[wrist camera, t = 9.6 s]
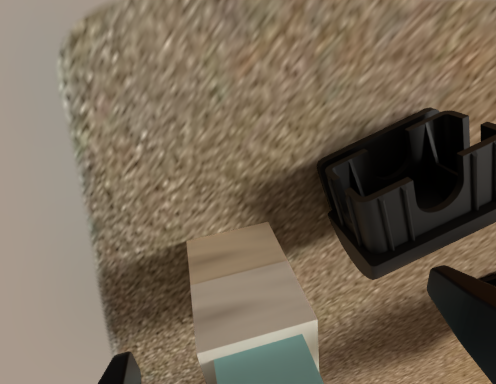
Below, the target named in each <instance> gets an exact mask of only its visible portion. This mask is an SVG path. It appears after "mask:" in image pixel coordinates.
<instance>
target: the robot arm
mask: <svg viewBox="0 0 496 384" xmlns="http://www.w3.org/2000/svg"><path fill="white" fill-rule="evenodd" d="M427 291H428V294H429V296H430V297H431V299H432V300H433V302H434V304H435V305H436V307H437V308H438V310H439V311H440V313H441V314H442V316H443V317H444V319H445V320H446V322H447V324H448V325H449V327H450V328H451V330H452V331H453V333H454V334H455V336H456V337H457V339H458V340H459V341H460V343H461V344H462V345H463V347H464V348H465V349H466V351H467V352H468V353H469V354H470V356H471V357H472V358H473V359H474V361H475V362H476V363H477V365H478V366H479V367H480V368H481V370H482V371H483V372H484V373H485V375H486V376H487V377H488V378H489V380H490V381H491V382H492V384H496V275H494V276H490V277H487V278H483V279H481V280H479V279H476V278H474V277H472V276H469V275H467V274H465V273H462V272H460V271H458V270H455V269H453V268H451V267H448V266H445V265H443V266H438V267H435V268H432V269H431V270H430V274H429V279H428V284H427ZM98 384H141V373H140V369H139V367H138V365H137V363H136V361H135V358H134V356H133V354H132V353H131V352H124V353H121V354H117V355H115V356H114V357H113V359H112V360H111V362H110V364H109V365H108V367H107V369H106V371H105V372H104V374H103V376H102V377H101V379H100V381H99V382H98Z"/></svg>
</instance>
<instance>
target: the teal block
mask: <svg viewBox="0 0 496 384" xmlns="http://www.w3.org/2000/svg"><path fill="white" fill-rule="evenodd" d="M214 366H215V373H216V380H217V384H324V383H323V380H322V378H321V376H320V373H319V371H318V369H317V367H316V364H315V362H314V360H313V357H312V355H311V353H310V350H309V348H308V346H307V344H306V341H305V339H304V337H303V334H300V335H296V336H293V337H289V338H286V339H283V340H279V341H276V342H272V343H269V344H266V345H262V346H259V347H255V348H252V349H248V350H245V351H242V352H238V353H235V354H231V355H228V356H224V357H221V358H218V359H214Z"/></svg>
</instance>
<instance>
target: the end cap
mask: <svg viewBox="0 0 496 384" xmlns="http://www.w3.org/2000/svg"><path fill="white" fill-rule="evenodd" d="M317 170H318V173H319V177H320V180H321V183H322V186H323V189H324V192H325V195H326V198H327V201H328V204H329V207H330V209H331V211H329V212H328V216H329V219H330V221H331V224H332V226H333V228H334V230H335V232H336V234H337V236H338V238H339V240H340V242H341V244H342V246H343V247H344V249H345V251H346V252H347V254H348V256H349V257H350V259H351V260H352V261H353V263H354V264H355V266H356V267H357V268H358V269H359V270H360V272H361V273H362V274H363V275H365V276H366V277H367V278H369V279H372V280H374V279H378V278H380V277H382V276H384V275H386V274H388V273H390V272H392V271H395V270H397V269H399V268H401V267H403V266H405V265H407V264H409V263H411V262H413V261H415V260H417V259H420V258H422V257H424V256H426V255H428V254H430V253H432V252H434V251H436V250H438V249H440V248H443V247H445V246H447V245H449V244H451V243H453V242H455V241H457V240H459V239H461V238H463V237H466V236H468V235H470V234H472V233H474V232H476V231H478V230H480V229H482V228H484V227H486V226H488V225H491V224H493V223H495V222H496V124H493V123H490V122H485V123H483V124H481V142H479V143H477V144H475V145H473V146H471V147H470V138H469V116H468V115H465V114H462V113H458V112H455V111H443V112H439V111H438V110H436V109H433V108H426V109H424V110H422V111H420V112H418V113H416V114H414V115H412V116H410V117H408V118H405V119H403V120H401V121H399V122H397V123H395V124H393V125H391V126H389V127H387V128H385V129H383V130H381V131H378V132H376V133H374V134H372V135H370V136H368V137H366V138H364V139H362V140H360V141H358V142H356V143H353V144H351V145H349V146H347V147H345V148H343V149H341V150H339V151H337V152H335V153H333V154H331V155H328V156H326V157H324V158H322V159H321V160H320V161H319V162H318V164H317Z"/></svg>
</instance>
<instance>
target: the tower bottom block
mask: <svg viewBox="0 0 496 384" xmlns="http://www.w3.org/2000/svg"><path fill="white" fill-rule="evenodd" d="M186 242H187V253H188V264H189V275H190V285H194V284H198V283H202V282H206V281H210V280H213V279H217V278H221V277H225V276H229V275H233V274H237V273H241V272H245V271H248V270H252V269H256V268H260V267H264V266H268V265H272V264H276V263H280V262H283V261H287V258H286V256H285V254H284V252H283V250H282V248H281V246H280V244H279V243H278V241H277V239H276V237H275V235H274V233H273V231H272V229H271V227H270V225H269V223H268V222H265V223H260V224H256V225H252V226H248V227H243V228H239V229H235V230H231V231H226V232H222V233H218V234H213V235H209V236H205V237H201V238H196V239H192V240H188V241H186Z"/></svg>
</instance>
